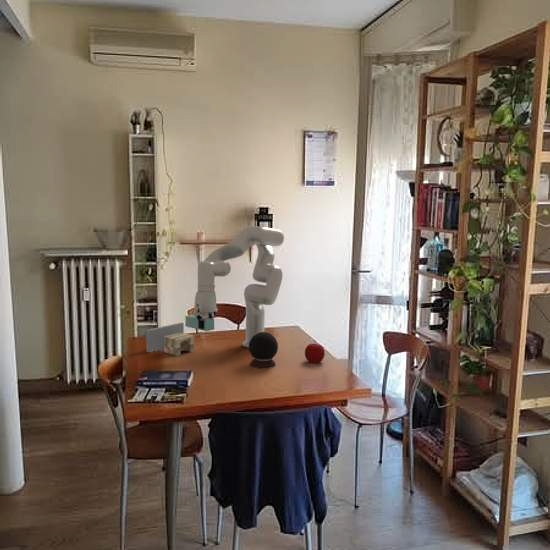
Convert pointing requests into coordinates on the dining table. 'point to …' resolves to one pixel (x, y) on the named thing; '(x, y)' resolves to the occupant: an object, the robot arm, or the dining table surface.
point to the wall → (161, 336)
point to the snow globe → (263, 349)
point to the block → (178, 343)
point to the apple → (314, 353)
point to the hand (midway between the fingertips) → (205, 327)
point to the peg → (193, 323)
